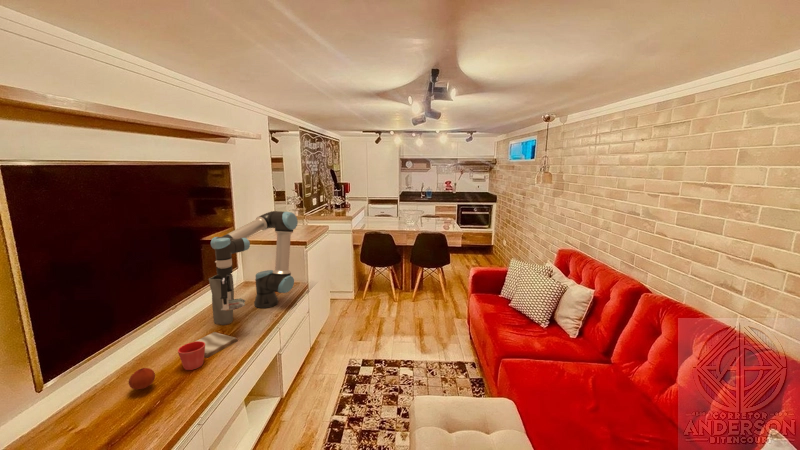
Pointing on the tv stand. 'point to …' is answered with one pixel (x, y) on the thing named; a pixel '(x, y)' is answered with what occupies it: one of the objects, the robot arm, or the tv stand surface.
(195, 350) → the flower pot
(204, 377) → the tv stand surface
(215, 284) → the vase
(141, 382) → the fruit
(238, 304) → the packaged food
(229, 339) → the stand
